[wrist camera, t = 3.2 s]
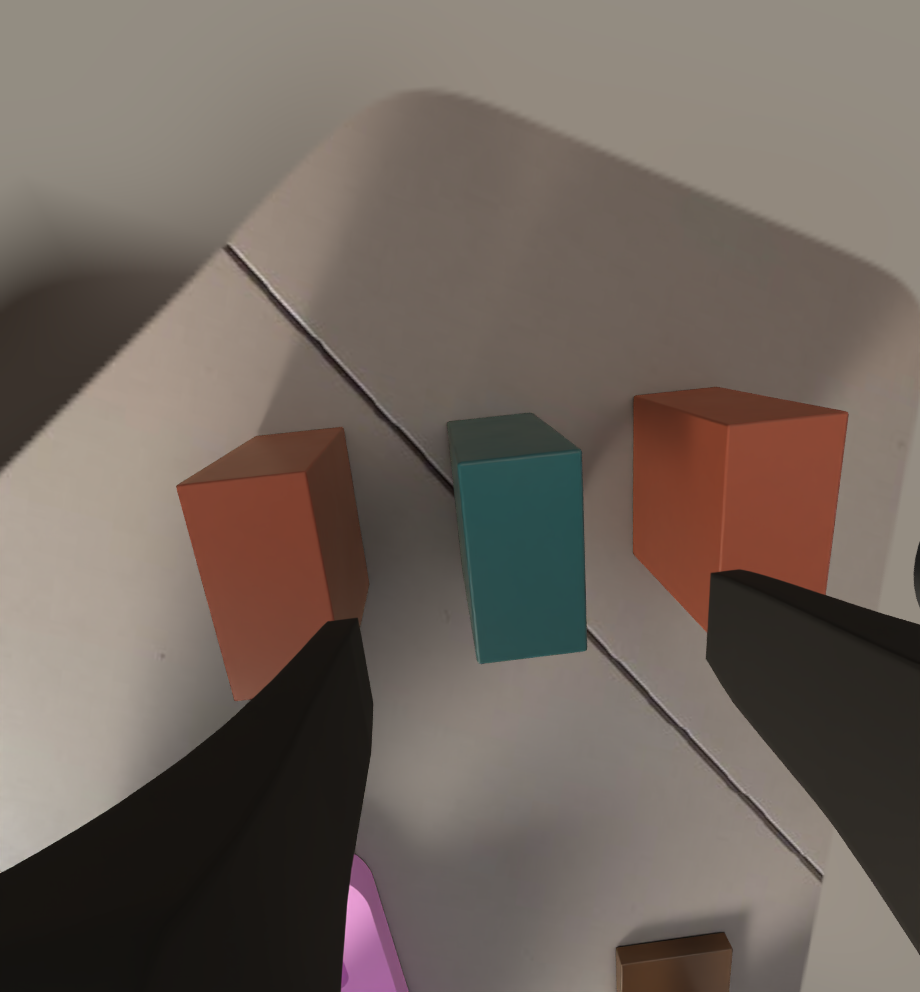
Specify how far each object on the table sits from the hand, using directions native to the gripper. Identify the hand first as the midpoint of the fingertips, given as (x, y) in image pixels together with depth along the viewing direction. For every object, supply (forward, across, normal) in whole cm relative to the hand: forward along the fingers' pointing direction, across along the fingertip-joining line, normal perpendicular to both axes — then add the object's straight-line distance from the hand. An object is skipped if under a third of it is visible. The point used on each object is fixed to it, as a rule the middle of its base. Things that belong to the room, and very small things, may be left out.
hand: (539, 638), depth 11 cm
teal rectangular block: (+9, 0, 0) cm, 9 cm away
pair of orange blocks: (+9, 0, 0) cm, 9 cm away
